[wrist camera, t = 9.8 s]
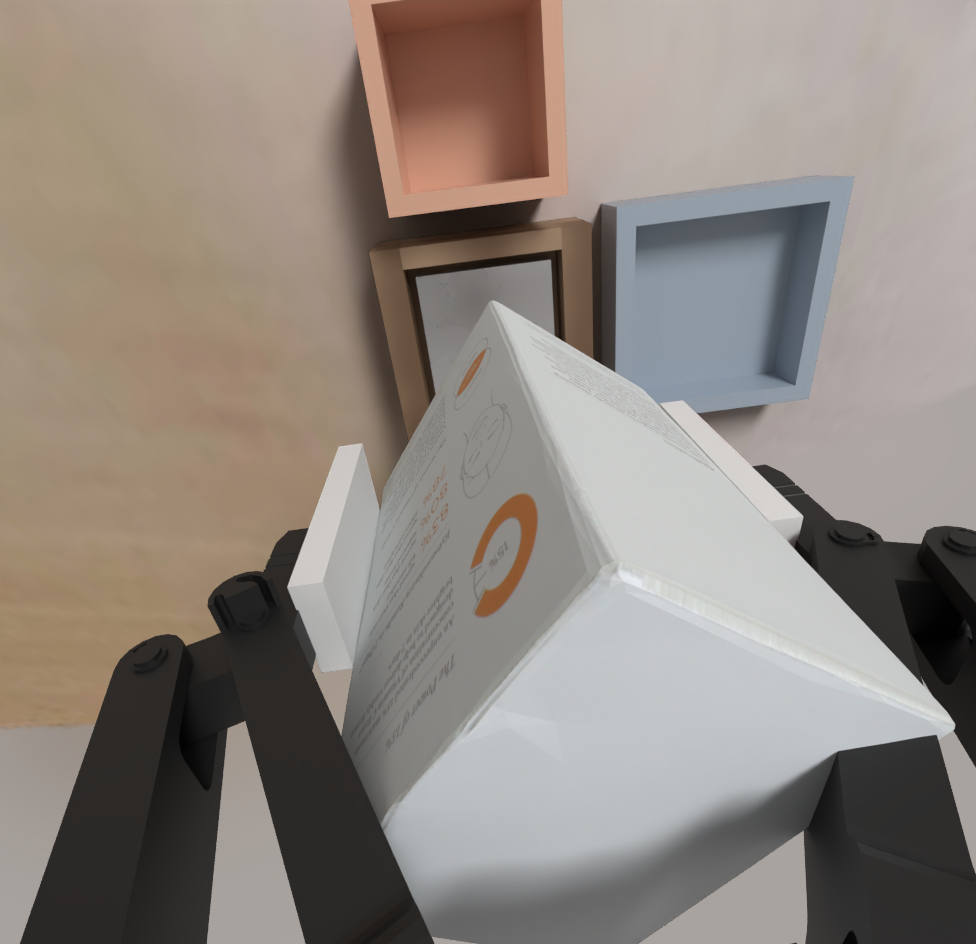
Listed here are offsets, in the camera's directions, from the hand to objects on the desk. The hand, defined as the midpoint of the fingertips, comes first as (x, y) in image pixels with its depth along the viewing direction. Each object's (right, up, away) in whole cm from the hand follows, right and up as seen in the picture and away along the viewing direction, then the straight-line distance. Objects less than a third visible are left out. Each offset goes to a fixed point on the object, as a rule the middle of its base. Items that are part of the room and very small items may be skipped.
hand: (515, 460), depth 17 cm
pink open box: (-2, +18, +9) cm, 20 cm away
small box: (0, +1, +2) cm, 2 cm away
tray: (+12, +10, +15) cm, 21 cm away
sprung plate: (-1, +7, +13) cm, 15 cm away
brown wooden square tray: (-1, +8, +15) cm, 17 cm away
